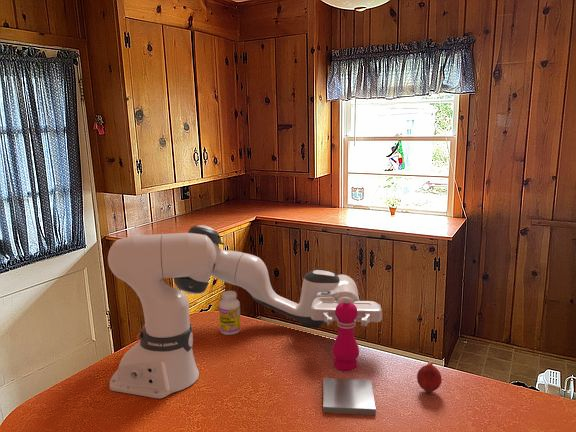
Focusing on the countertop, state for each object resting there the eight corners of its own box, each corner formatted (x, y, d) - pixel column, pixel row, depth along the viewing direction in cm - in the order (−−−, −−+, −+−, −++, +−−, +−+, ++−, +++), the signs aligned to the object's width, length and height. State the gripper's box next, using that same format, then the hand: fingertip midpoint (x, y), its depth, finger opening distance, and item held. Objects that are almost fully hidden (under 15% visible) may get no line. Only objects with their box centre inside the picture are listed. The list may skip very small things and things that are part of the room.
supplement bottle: (216, 334, 145) (215, 296, 142) (224, 325, 151) (222, 288, 149) (236, 336, 144) (235, 298, 141) (243, 327, 150) (242, 290, 147)
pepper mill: (341, 375, 121) (343, 304, 117) (327, 363, 128) (327, 295, 124) (364, 368, 125) (365, 299, 121) (348, 356, 131) (350, 290, 127)
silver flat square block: (323, 412, 106) (323, 406, 106) (323, 383, 118) (323, 378, 118) (375, 414, 105) (375, 409, 105) (370, 385, 117) (370, 379, 117)
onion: (441, 400, 111) (444, 369, 109) (417, 397, 112) (418, 367, 110) (439, 386, 116) (441, 357, 114) (415, 384, 117) (417, 355, 116)
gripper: (379, 313, 139) (385, 334, 125) (311, 311, 140) (310, 332, 127) (380, 294, 137) (386, 313, 124) (311, 292, 139) (310, 311, 126)
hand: (347, 323), depth 125 cm, fingers open, 8 cm apart
